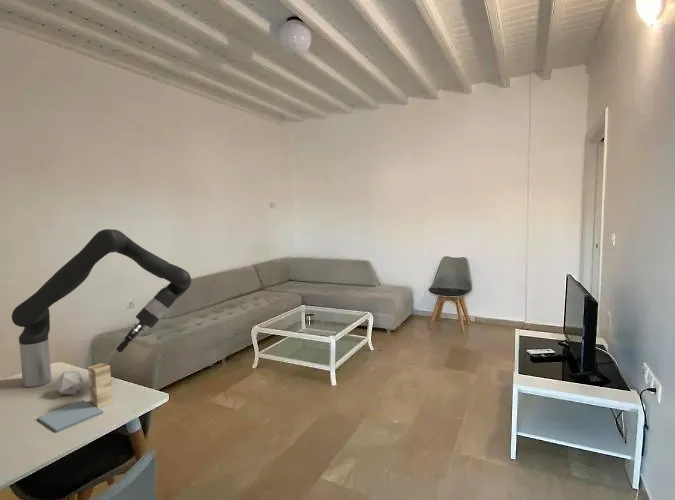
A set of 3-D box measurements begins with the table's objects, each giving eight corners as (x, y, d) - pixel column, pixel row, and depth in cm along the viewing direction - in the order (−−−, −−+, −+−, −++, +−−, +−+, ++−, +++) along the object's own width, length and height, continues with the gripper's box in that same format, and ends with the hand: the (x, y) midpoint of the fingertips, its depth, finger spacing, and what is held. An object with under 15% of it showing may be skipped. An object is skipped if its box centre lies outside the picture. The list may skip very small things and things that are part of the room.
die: (62, 402, 145) (80, 378, 147) (43, 389, 146) (62, 365, 148) (76, 400, 153) (94, 376, 155) (59, 387, 154) (76, 364, 157)
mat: (37, 419, 132) (37, 417, 132) (83, 402, 144) (82, 400, 144) (56, 432, 125) (56, 430, 124) (103, 413, 136) (102, 410, 136)
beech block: (90, 405, 142) (88, 367, 140) (105, 399, 146) (103, 362, 145) (97, 408, 139) (95, 370, 138) (112, 402, 143) (110, 365, 142)
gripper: (144, 308, 158) (111, 344, 151) (143, 305, 147) (107, 345, 140) (160, 319, 160) (128, 356, 153) (160, 317, 148) (125, 357, 141)
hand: (118, 350), depth 146 cm, fingers closed
